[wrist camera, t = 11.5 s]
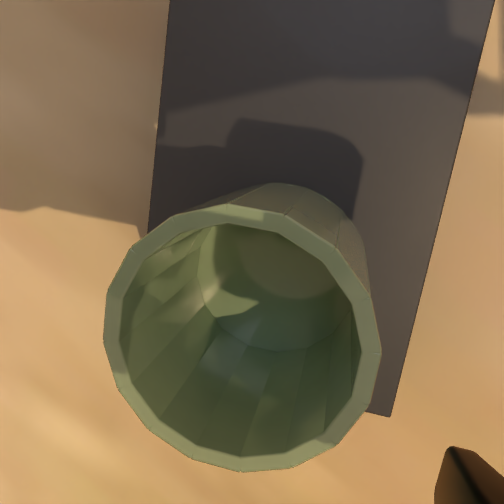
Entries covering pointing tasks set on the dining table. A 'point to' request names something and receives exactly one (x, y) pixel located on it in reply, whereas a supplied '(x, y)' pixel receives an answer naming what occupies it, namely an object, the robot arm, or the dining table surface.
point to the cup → (247, 328)
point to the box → (325, 123)
